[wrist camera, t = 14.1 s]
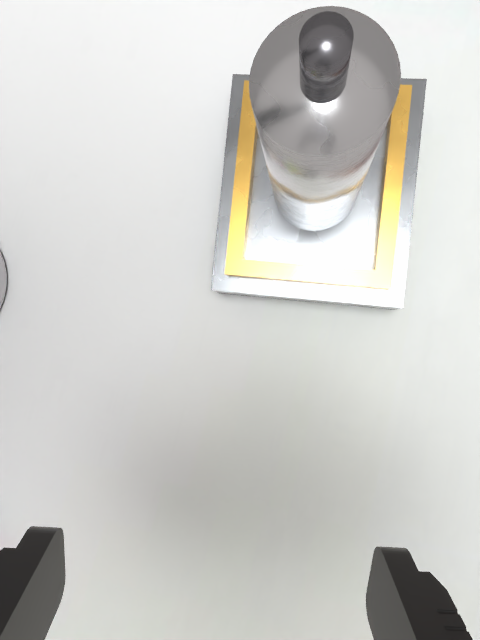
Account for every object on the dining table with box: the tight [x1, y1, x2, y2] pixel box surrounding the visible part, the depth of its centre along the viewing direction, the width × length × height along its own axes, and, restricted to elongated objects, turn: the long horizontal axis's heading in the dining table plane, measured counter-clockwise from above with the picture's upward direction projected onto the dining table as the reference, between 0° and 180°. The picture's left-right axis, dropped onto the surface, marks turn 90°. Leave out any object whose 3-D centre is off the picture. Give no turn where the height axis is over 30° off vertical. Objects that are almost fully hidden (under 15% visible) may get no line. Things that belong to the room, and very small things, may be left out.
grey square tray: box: [211, 74, 427, 309], centre depth 30 cm, size 12×14×4 cm
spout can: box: [249, 6, 401, 231], centre depth 21 cm, size 5×5×15 cm
